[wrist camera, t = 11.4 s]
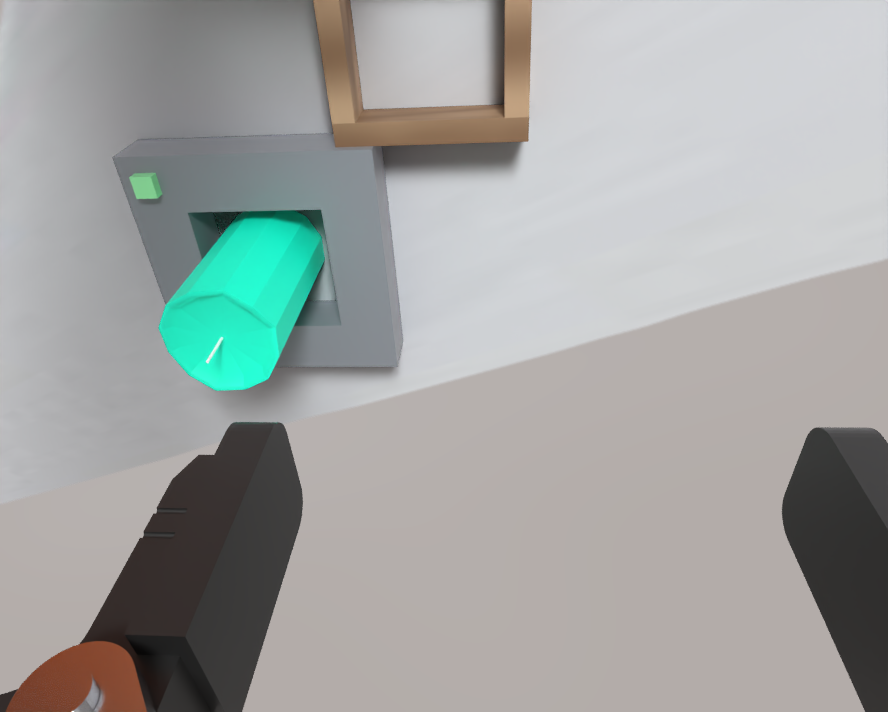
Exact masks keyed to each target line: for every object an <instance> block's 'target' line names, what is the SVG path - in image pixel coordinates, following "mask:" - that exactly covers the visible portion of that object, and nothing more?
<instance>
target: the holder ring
mask: <svg viewBox="0 0 888 712" xmlns="http://www.w3.org/2000/svg"><path fill="white" fill-rule="evenodd" d="M313 3H314V9H315V16H316V22H317V29H318V36H319V42H320V49H321V55H322V62H323V68H324V75H325V81H326V88H327V95H328V101H329V108H330V114H331V121H332V127H333V134H334V141H335V147H364V146H396V145H428V144H459V143H491V142H523V141H528V131H529V91H530V52H531V12H532V0H505V1H504V105H476V106H449V107H421V108H394V109H367V110H363V103H362V95H361V87H360V78H359V70H358V62H357V54H356V46H355V38H354V29H353V21H352V13H351V5H350V0H313Z"/></svg>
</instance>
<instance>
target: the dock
mask: <svg viewBox="0 0 888 712" xmlns="http://www.w3.org/2000/svg"><path fill="white" fill-rule="evenodd" d="M112 158H113V161H114V163H115V166H116V169H117V172H118V174H119V177H120V180H121V183H122V185H123V188H124V191H125V194H126V197H127V199H128V202H129V205H130V208H131V210H132V213H133V216H134V219H135V221H136V224H137V227H138V230H139V232H140V235H141V238H142V241H143V244H144V246H145V249H146V252H147V255H148V257H149V260H150V263H151V266H152V268H153V271H154V274H155V277H156V279H157V282H158V285H159V288H160V291H161V293H162V296H163V299H164V302H165V304H167V303H168V302H169V300H170V299H171V298H172V297H173V295H174V294H175V293H176V292H177V290H178V289H179V288H180V287H181V285H182V284H183V283H184V282H185V280H186V279H187V278H188V277H189V275H190V274H191V273H192V272H193V270H194V269H195V268H196V267H197V265H198V264H199V263H200V262H201V260H202V259H203V258H204V257H205V255H206V254H207V253H208V252H209V250H210V249H211V248H212V247H213V245H214V244H215V243H216V242H217V240H218V239H219V238H220V235H219V232H218V228H217V225H216V221H215V218H214V214H213V212H236V211H279V210H321V212H322V218H323V223H324V229H325V235H326V240H327V246H328V252H329V257H330V263H331V269H332V275H333V280H334V286H335V292H336V297H337V301H305V303H304V305H303V307H302V309H301V312H300V314H299V316H298V318H297V320H296V322H295V324H294V327H293V329H292V331H291V333H290V335H289V337H288V339H287V342H286V344H285V346H284V348H283V350H282V352H281V354H280V357H279V359H278V361H277V363H276V365H275V367H398V363H399V358H400V353H401V349H402V344H403V334H402V325H401V316H400V306H399V297H398V288H397V279H396V270H395V261H394V252H393V242H392V233H391V224H390V215H389V206H388V197H387V188H386V178H385V169H384V160H383V151H382V146H364V147H335V141H334V134H333V133H324V134H294V135H265V136H235V137H205V138H175V139H145V140H137V141H135V142H134V143H133V144H131V145H130V146H128V147H127V148H125V149H124V150H122V151H121V152H120V153H118V154H117V155H115V156H114V157H112Z"/></svg>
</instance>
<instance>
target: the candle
mask: <svg viewBox="0 0 888 712" xmlns="http://www.w3.org/2000/svg"><path fill="white" fill-rule="evenodd" d="M324 260H325V257H324V250H323V243H322V237H321V235H320V234H319V233H318V231H317V230H316V229H315V227H314V226H313V225H312V224H311V222H310V221H309V220H308V218H307V217H306V216H305V215H303V214H301V213H299V212H297V211H295V210H279V211H244V212H242V213H241V214H239V215H238V216H237V217H236V218H235V219H234V220H233V222H232V223H231V224H230V225H229V227H228V228H227V229H226V230H225V232H224V233H223V234H222V235H221V237H220V238H219V239H218V240H217V242H216V243H215V244H214V245H213V247H212V248H211V249H210V250H209V252H208V253H207V254H206V255H205V257H204V258H203V259H202V260H201V262H200V263H199V264H198V265H197V267H196V268H195V269H194V270H193V272H192V273H191V274H190V275H189V277H188V278H187V279H186V280H185V282H184V283H183V284H182V285H181V287H180V288H179V289H178V290H177V292H176V293H175V294H174V295H173V297H172V298H171V299H170V300H169V302H168V303H167V304H166V306H165V309H164V312H163V315H162V318H161V321H160V324H159V330H160V333H161V335H162V338H163V340H164V343H165V345H166V347H167V350H168V352H169V353H170V354H171V356H172V357H173V358H174V359H175V360H176V361H177V362H178V363H179V365H180V366H181V367H182V368H183V369H184V370H185V371H186V373H187V374H188V375H189V376H191V377H193V378H195V379H196V380H198V381H200V382H202V383H203V384H205V385H207V386H209V387H210V388H212V389H214V390H216V391H221V390H245V389H248V388H250V387H252V386H255V385H257V384H259V383H261V382H263V381H265V380H267V379H269V377H270V375H271V373H272V371H273V369H274V367H275V365H276V363H277V361H278V359H279V357H280V354H281V352H282V350H283V348H284V346H285V344H286V342H287V339H288V337H289V335H290V333H291V331H292V329H293V327H294V324H295V322H296V320H297V318H298V316H299V314H300V312H301V309H302V307H303V305H304V303H305V301H306V299H307V297H308V294H309V292H310V290H311V288H312V286H313V284H314V282H315V279H316V277H317V275H318V273H319V271H320V269H321V267H322V264H323V262H324Z"/></svg>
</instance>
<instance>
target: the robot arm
mask: <svg viewBox="0 0 888 712" xmlns="http://www.w3.org/2000/svg"><path fill="white" fill-rule="evenodd" d="M302 499H303V498H302V489H301V484H300V481H299V477H298V473H297V469H296V466H295V462H294V458H293V454H292V451H291V447H290V443H289V439H288V436H287V432H286V429H285V427H284V425H283V424H282V423H267V422H235V423H232V424H231V425H230V426H229V427H228V429H227V431H226V433H225V435H224V437H223V439H222V441H221V443H220V445H219V447H218V449H217V451H216V453H215V455H198V456H197V457H196V458H195V459H194V460H193V461H192V462H191V463H190V464H188V466H186V467H185V468H184V469H183V470H182V471H181V472H180V473H179V474H178V475H177V476H176V477H175V478H173V480H172V481H171V483H170V485H169V487H168V488H167V490H166V492H165V494H164V496H163V497H162V499H161V501H160V503H159V505H158V507H157V513H156V514H153V516H152V517H151V519H150V522H149V523H148V525H147V526H146V528H145V530H144V536H143V538H140V539H139V541H138V543H137V545H136V547H135V548H134V550H133V552H132V554H131V555H130V557H129V559H128V561H127V563H126V565H125V566H124V568H123V570H122V572H121V574H120V575H119V577H118V579H117V581H116V583H115V584H114V586H113V588H112V590H111V592H110V594H109V595H108V597H107V599H106V601H105V603H104V605H103V606H102V608H101V610H100V612H99V614H98V615H97V617H96V619H95V621H94V622H93V624H92V626H91V628H90V630H89V631H88V633H87V635H86V636H85V638H84V639H83V640H82V642H81V643H80V644H79V645H76V646H73V647H70V648H68V649H66V650H64V651H61V652H60V653H58V654H57V655H55V656H53V657H51V658H50V659H48V660H47V661H46V662H44V663H43V664H42V665H40V666H39V667H38V668H37V669H36V670H35V671H34V672H32V673H31V675H30V676H29V677H28V678H27V679H26V680H25V681H24V682H23V683H22V684H21V686H20V687H19V689H17V690H14V691H11V692H8V693H5V694H1V695H0V712H242V710H243V707H244V703H245V700H246V697H247V694H248V690H249V687H250V684H251V681H252V678H253V675H254V671H255V668H256V665H257V661H258V658H259V655H260V652H261V649H262V646H263V642H264V639H265V636H266V633H267V629H268V626H269V623H270V620H271V616H272V613H273V610H274V607H275V604H276V600H277V597H278V594H279V591H280V588H281V584H282V581H283V578H284V575H285V572H286V568H287V565H288V562H289V559H290V555H291V552H292V549H293V546H294V542H295V539H296V536H297V533H298V530H299V526H300V522H301V516H302V505H303V500H302ZM782 518H783V525H784V529H785V533H786V536H787V538H788V541H789V543H790V546H791V548H792V550H793V552H794V554H795V557H796V559H797V561H798V563H799V565H800V568H801V570H802V572H803V574H804V577H805V579H806V581H807V583H808V586H809V588H810V590H811V592H812V594H813V597H814V599H815V601H816V603H817V606H818V608H819V610H820V612H821V614H822V617H823V619H824V621H825V623H826V626H827V628H828V630H829V632H830V634H831V637H832V639H833V641H834V643H835V645H836V648H837V650H838V652H839V654H840V657H841V659H842V661H843V663H844V665H845V668H846V670H847V672H848V674H849V676H850V679H851V681H852V683H853V685H854V688H855V690H856V692H857V694H858V697H859V699H860V701H861V703H862V705H863V708H864V710H865V712H888V443H887V442H886V440H885V439H884V437H882V435H881V434H880V433H879V432H878V431H877V430H875V429H872V428H814V429H812V430H811V431H810V433H809V434H808V436H807V438H806V440H805V443H804V446H803V449H802V451H801V454H800V456H799V459H798V461H797V464H796V466H795V469H794V472H793V474H792V477H791V479H790V482H789V485H788V487H787V490H786V492H785V495H784V499H783V505H782Z"/></svg>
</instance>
